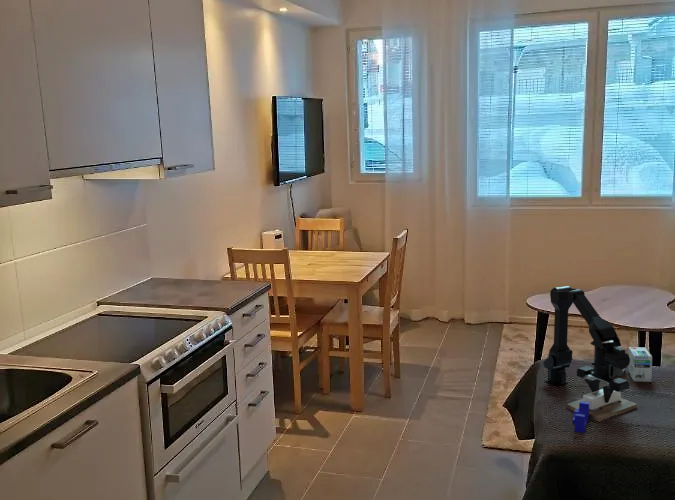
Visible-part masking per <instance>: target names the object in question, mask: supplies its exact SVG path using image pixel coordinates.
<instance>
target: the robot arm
mask: <svg viewBox="0 0 675 500" xmlns="http://www.w3.org/2000/svg"><path fill="white" fill-rule="evenodd" d="M549 295H550V303H551V305H552V306H553V308H554V319H553V320H554V322H553V323H554V324H553V325H554V326H553V328H554V329H553V333H554V334H553V344H552V345H551V347H550V349H549V351H548V357H547V358H546V359H545V360H543V367H544V368H545V369H547V378H546V379H544V381H545V383H549V384H551V385H553V386H555V387H559V386H561V385H565V384H567V383H569V381H568V380H567V372H566V369H567V368H570V366H571V363H572V361H573V350H572V349H571V348H570V347H569V345H568V329H569V328H568V326H569V309H570V308H571V306H573V305H574V306H575V307H576V309H577V311H578V312H579V313H580V315H581V317H582V318H583V319H584V320H585V322H586V324H587V326H588V333H589V334H590V336H591V339H592V341H591V342H590V345H591V346H594V347H593V348H594V356H593V361H591V366H593V367H591V366H589V365H584V366H582V367H579V368H578V369H577V370H576V377H579V378H582V379H583V378H585V379H584V382H586V384H587V386H588V387H589V389H590V391H591V393H592V392H595V391H598V390H600V382H601V381H602V382H604V383H606V385H604V386H603V387H602V389H603V393H604V400H605V403H608V402H609V399H610V397H611V395H612V393H613V391H617V392H620V391H621V392H623V391H625V390H628V389H630V382H629V380H628V379H627V380H626V379H624V378H622V377H621V376H622V375H623V373H622V370H623V369H625V370H626V368H628V367H629V363H630V358H629V353H626V349H624V348H622V349H621V348H619V347H618V346H621V345H622V344H621V340H620V337H619V336H618V334H617V332H616V329H615V327H614V326H613V325H612V324H611V323H610V322H609V321H608V320H606V319H605V318H602V317H601V316H600V314H599V313H598V312H597V310H596V309H595V308H594V306H593V305H592V304H591V302H590V301H589V300H588V298H587V296H586V295H585V291H584V290H583V289H579V288H573V287H572V286H569V285H564V286H558V287H557V286H556V287H553V288H552V289H551V290H550V293H549ZM612 340H613V342H609V343H606V342H607V341H612ZM616 376H619V377H617V378H614V377H616Z"/></svg>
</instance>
